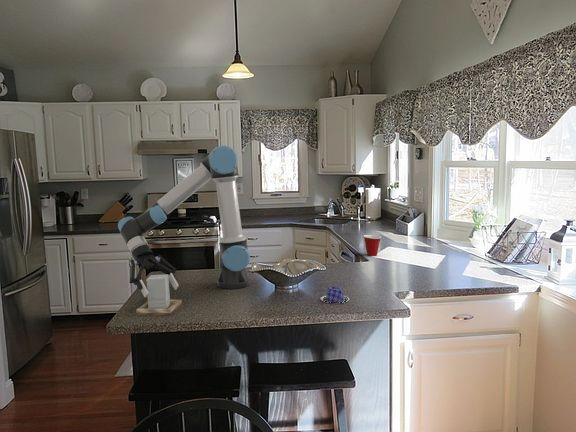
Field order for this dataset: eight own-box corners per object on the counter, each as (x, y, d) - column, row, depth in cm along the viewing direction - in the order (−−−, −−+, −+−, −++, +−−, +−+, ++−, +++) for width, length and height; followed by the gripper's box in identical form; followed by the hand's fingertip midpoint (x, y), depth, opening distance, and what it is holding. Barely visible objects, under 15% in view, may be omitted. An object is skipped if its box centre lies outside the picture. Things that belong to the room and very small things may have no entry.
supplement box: (170, 304, 191) (169, 273, 189) (166, 310, 184) (165, 278, 182) (152, 304, 191) (150, 274, 189) (147, 310, 183) (145, 279, 182)
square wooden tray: (182, 304, 193) (182, 299, 193) (170, 315, 180) (170, 310, 179) (150, 303, 195) (150, 299, 195) (135, 314, 181) (135, 309, 181)
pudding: (355, 300, 195) (355, 288, 194) (334, 306, 187) (334, 294, 187) (334, 294, 204) (334, 282, 203) (314, 300, 196) (314, 288, 196)
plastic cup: (381, 257, 277) (381, 237, 276) (363, 257, 279) (363, 237, 278) (381, 253, 288) (381, 234, 286) (363, 253, 290) (363, 234, 289)
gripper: (163, 250, 204) (185, 290, 196) (108, 260, 186) (129, 304, 178) (169, 239, 200) (192, 279, 192) (114, 248, 182) (136, 293, 174)
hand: (162, 291), depth 185 cm, fingers open, 13 cm apart
